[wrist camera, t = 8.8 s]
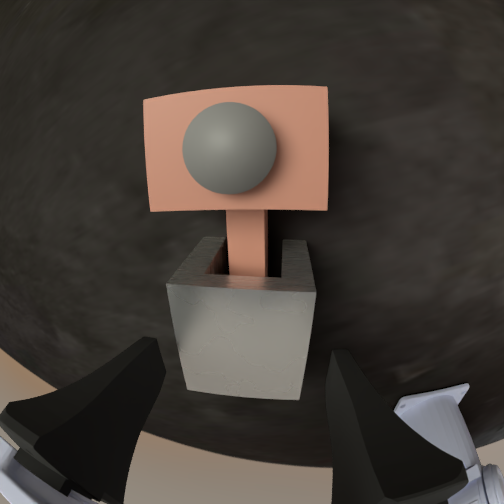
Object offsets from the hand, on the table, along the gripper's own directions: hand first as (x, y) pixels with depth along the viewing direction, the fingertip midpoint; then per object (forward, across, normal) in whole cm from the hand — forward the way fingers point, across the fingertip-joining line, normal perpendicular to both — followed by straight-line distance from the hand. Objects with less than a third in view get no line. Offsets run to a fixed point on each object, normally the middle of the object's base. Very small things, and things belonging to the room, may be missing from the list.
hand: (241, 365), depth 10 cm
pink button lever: (+6, 0, -3) cm, 6 cm away
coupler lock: (+6, 0, 0) cm, 6 cm away
